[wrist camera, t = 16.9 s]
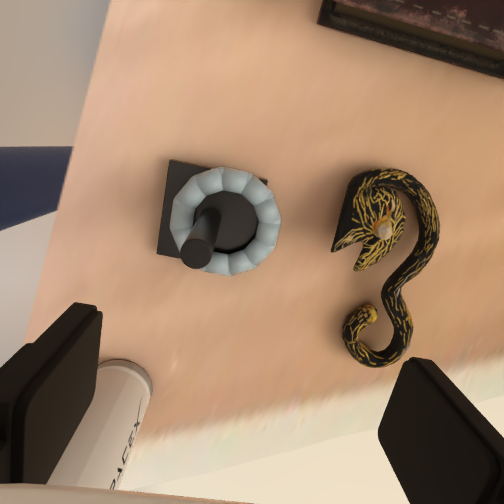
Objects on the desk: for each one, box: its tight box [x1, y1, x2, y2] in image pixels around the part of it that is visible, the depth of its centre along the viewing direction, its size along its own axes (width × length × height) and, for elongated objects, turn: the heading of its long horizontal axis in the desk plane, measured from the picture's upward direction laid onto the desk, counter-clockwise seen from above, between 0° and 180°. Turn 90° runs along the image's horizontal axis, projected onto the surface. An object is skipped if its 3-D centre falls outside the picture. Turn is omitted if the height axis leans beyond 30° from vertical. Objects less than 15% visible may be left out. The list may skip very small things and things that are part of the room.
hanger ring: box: [170, 166, 281, 276], centre depth 28 cm, size 9×9×2 cm
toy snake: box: [331, 168, 440, 368], centre depth 30 cm, size 18×5×10 cm
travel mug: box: [46, 360, 152, 490], centre depth 25 cm, size 6×7×20 cm
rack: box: [157, 159, 268, 269], centre depth 25 cm, size 8×8×11 cm
